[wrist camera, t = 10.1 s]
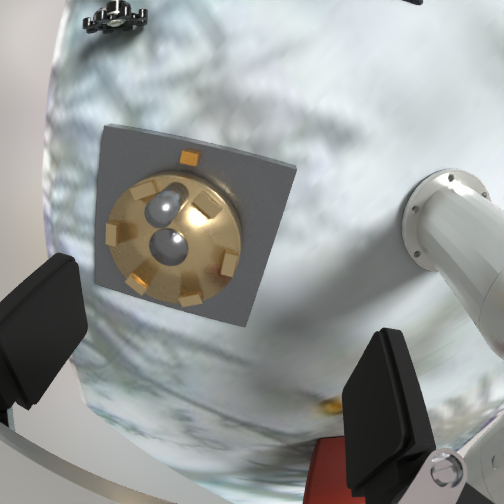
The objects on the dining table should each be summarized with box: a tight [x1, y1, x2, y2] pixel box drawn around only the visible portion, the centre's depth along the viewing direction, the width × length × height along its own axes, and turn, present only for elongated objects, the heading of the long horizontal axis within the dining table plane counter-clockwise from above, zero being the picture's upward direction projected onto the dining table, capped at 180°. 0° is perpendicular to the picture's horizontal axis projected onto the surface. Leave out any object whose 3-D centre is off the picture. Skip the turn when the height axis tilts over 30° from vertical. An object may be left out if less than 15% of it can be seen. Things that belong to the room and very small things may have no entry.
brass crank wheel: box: [106, 171, 242, 307], centre depth 30 cm, size 14×14×8 cm
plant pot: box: [303, 436, 365, 504], centre depth 48 cm, size 19×19×17 cm
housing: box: [95, 124, 297, 327], centre depth 34 cm, size 20×20×3 cm
